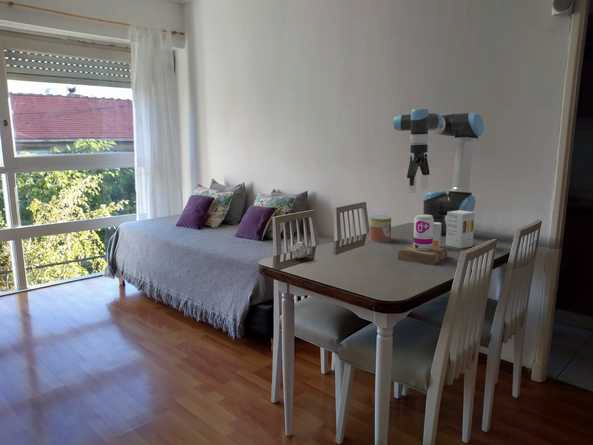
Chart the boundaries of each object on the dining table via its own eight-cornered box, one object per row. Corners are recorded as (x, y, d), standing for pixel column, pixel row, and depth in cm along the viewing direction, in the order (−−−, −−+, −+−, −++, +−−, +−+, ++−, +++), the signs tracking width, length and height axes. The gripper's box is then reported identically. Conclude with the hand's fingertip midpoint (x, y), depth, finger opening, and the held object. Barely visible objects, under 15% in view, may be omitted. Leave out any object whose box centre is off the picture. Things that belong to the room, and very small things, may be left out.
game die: (299, 265, 205) (302, 245, 210) (311, 262, 199) (314, 241, 203) (284, 258, 200) (287, 238, 205) (296, 255, 194) (300, 234, 199)
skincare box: (426, 247, 219) (427, 223, 217) (428, 245, 222) (428, 221, 220) (439, 248, 216) (440, 224, 214) (440, 246, 220) (441, 222, 217)
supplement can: (429, 252, 194) (430, 217, 191) (410, 250, 198) (411, 216, 195) (434, 248, 200) (436, 214, 198) (416, 246, 205) (417, 213, 202)
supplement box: (460, 248, 215) (462, 213, 212) (445, 245, 223) (446, 211, 220) (473, 246, 220) (475, 211, 217) (457, 242, 228) (459, 209, 225)
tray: (413, 251, 211) (413, 243, 210) (447, 256, 201) (447, 248, 200) (397, 259, 199) (398, 250, 198) (433, 264, 189) (433, 255, 188)
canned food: (381, 243, 229) (381, 219, 227) (364, 239, 238) (364, 217, 236) (395, 239, 236) (396, 217, 234) (378, 236, 245) (379, 214, 243)
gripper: (421, 142, 215) (420, 187, 219) (399, 145, 196) (399, 194, 200) (437, 142, 211) (436, 187, 215) (416, 145, 191) (415, 195, 196)
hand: (418, 190), depth 208 cm, fingers open, 13 cm apart
